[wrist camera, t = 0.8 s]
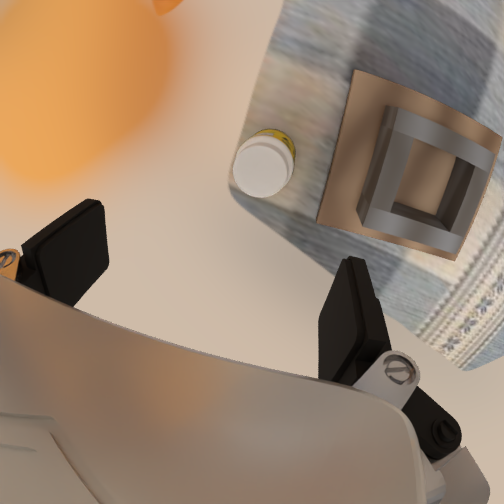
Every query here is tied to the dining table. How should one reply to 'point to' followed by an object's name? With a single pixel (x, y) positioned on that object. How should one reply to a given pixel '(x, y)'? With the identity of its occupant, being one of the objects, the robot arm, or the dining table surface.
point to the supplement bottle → (264, 163)
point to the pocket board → (407, 168)
